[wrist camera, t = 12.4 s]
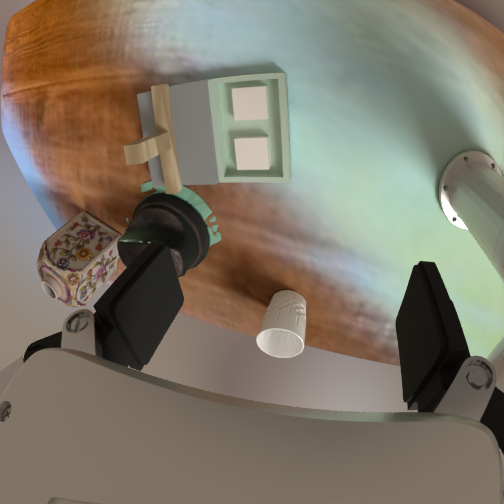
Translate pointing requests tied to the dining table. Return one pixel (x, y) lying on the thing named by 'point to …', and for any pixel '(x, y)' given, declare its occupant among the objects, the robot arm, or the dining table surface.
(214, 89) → the tray
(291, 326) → the white cup
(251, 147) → the tile
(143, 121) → the board
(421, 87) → the dining table surface
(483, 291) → the dining table surface
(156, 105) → the tan bar
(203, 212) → the dark round cap
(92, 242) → the decorative jar
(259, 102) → the tile
